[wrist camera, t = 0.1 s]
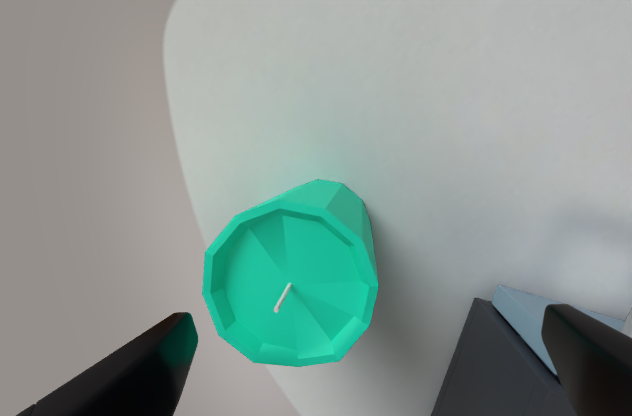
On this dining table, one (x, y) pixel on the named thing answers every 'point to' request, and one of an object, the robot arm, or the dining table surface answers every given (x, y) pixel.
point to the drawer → (541, 320)
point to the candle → (294, 276)
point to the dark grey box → (497, 373)
